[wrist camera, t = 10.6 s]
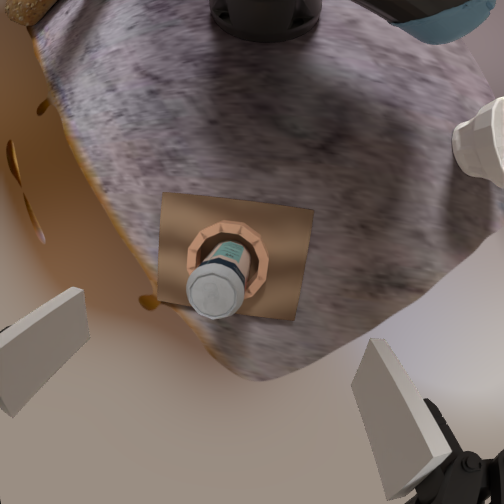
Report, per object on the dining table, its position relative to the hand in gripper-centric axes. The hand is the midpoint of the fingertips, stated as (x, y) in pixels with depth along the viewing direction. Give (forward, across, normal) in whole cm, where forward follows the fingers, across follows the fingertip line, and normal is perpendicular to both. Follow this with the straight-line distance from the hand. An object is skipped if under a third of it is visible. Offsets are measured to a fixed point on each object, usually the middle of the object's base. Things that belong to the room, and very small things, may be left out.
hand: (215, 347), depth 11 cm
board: (+23, -2, -2) cm, 23 cm away
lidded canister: (+22, -2, -2) cm, 22 cm away
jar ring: (+21, -2, -2) cm, 22 cm away
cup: (+24, +31, +19) cm, 43 cm away
